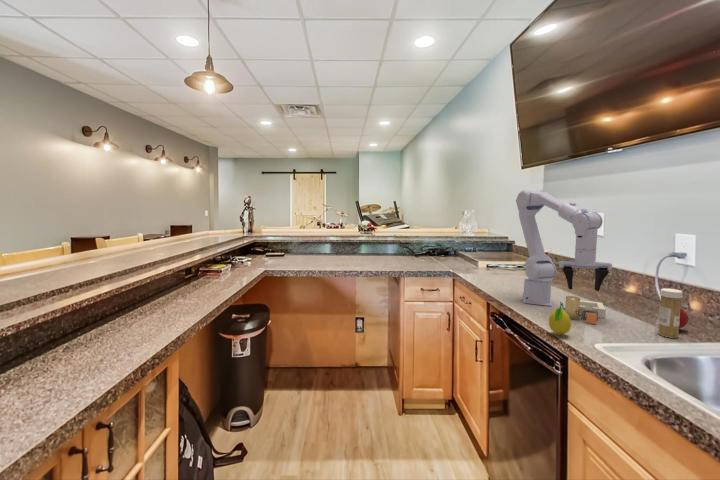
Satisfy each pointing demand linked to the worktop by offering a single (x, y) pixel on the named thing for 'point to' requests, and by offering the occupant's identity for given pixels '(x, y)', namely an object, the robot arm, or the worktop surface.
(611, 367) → the worktop surface
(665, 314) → the sprinkles bottle
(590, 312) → the block
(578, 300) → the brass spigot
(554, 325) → the lemon
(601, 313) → the dock
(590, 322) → the pin
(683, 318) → the onion
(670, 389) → the worktop surface
